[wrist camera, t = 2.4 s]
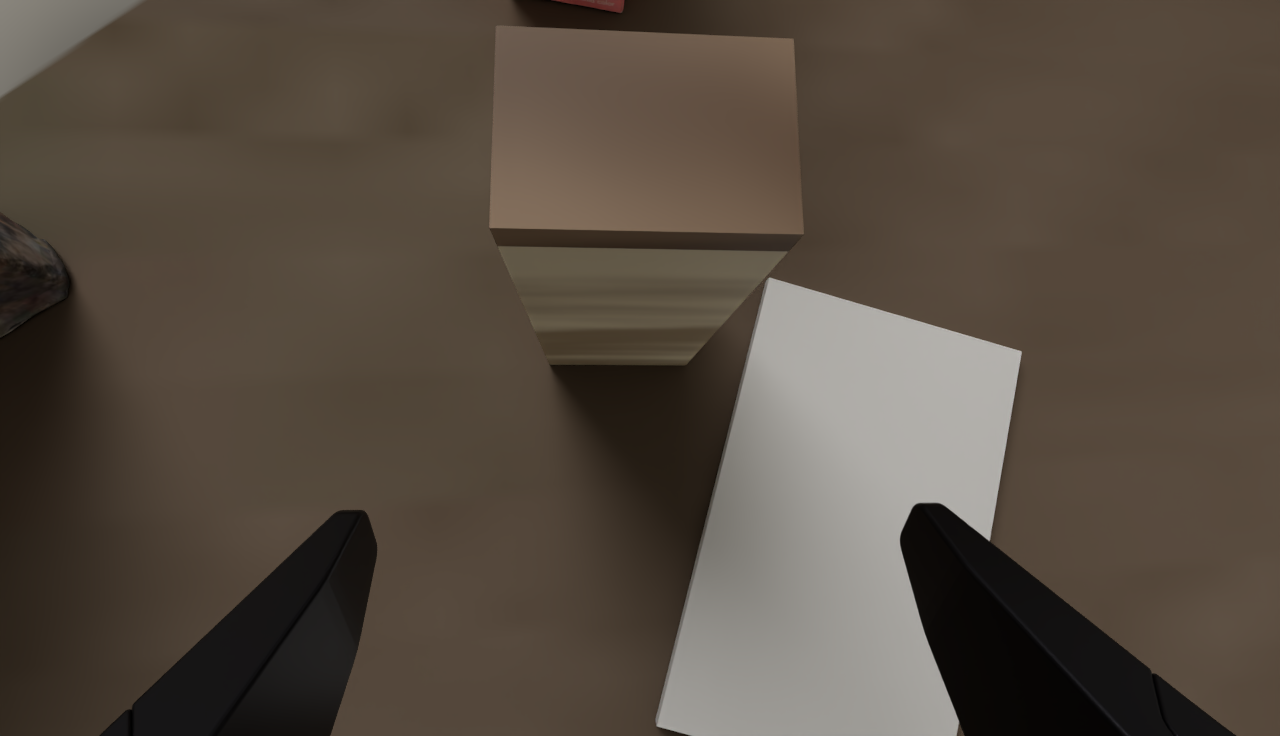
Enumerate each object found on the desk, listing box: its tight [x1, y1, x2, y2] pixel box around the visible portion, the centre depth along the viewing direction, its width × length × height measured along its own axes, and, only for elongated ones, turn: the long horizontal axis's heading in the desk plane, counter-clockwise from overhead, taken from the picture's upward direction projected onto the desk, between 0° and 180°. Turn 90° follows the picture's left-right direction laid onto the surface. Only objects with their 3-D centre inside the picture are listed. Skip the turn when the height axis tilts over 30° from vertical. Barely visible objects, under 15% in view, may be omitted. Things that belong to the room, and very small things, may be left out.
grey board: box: [655, 278, 1022, 736], centre depth 22 cm, size 16×10×1 cm, turn 164°
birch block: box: [489, 26, 804, 365], centre depth 16 cm, size 4×5×13 cm
